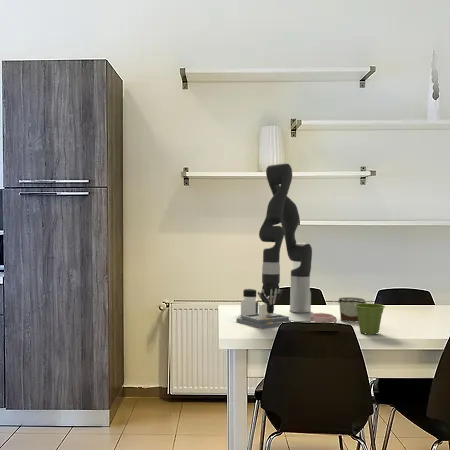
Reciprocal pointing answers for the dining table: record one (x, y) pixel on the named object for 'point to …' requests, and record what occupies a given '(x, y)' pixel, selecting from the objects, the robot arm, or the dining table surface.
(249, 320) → the dark gray tray
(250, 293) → the medicine bottle
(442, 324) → the dining table surface
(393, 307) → the dining table surface
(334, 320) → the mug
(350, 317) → the food container
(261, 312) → the tab
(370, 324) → the plant pot
